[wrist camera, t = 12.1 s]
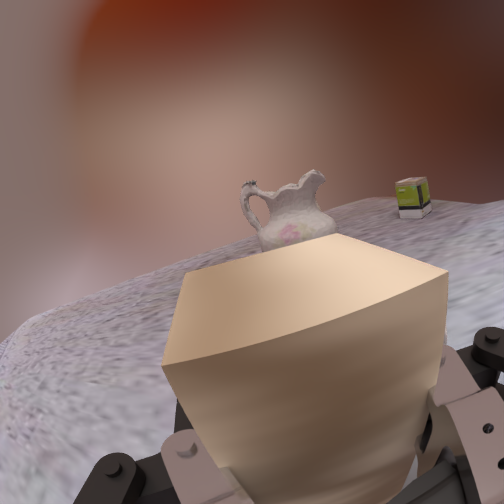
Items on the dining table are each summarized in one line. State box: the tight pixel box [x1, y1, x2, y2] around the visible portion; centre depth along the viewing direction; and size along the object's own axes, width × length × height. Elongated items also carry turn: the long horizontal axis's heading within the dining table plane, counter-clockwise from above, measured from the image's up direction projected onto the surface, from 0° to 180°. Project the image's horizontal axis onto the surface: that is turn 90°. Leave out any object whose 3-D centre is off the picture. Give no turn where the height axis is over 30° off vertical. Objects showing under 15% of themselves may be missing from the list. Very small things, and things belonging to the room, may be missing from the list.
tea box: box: [395, 177, 432, 219], centre depth 96 cm, size 15×10×15 cm
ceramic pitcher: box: [240, 170, 338, 252], centre depth 67 cm, size 22×20×25 cm
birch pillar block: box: [161, 233, 448, 504], centre depth 7 cm, size 5×5×10 cm
